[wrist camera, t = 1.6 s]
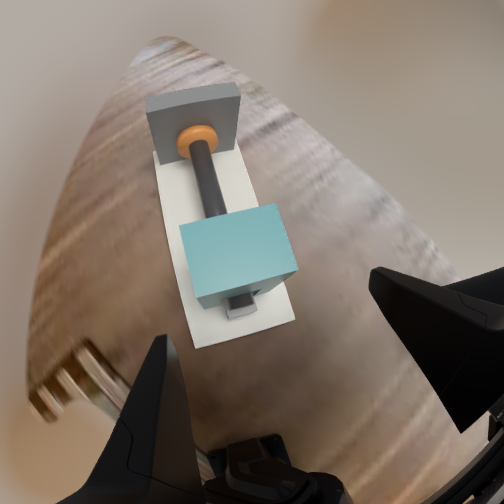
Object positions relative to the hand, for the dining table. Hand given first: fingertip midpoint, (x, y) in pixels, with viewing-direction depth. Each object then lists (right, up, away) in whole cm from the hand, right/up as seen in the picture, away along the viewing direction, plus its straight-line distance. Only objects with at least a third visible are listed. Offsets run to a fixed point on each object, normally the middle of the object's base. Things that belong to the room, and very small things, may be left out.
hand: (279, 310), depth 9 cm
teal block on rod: (-3, 0, +11) cm, 12 cm away
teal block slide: (-4, +4, +14) cm, 15 cm away
